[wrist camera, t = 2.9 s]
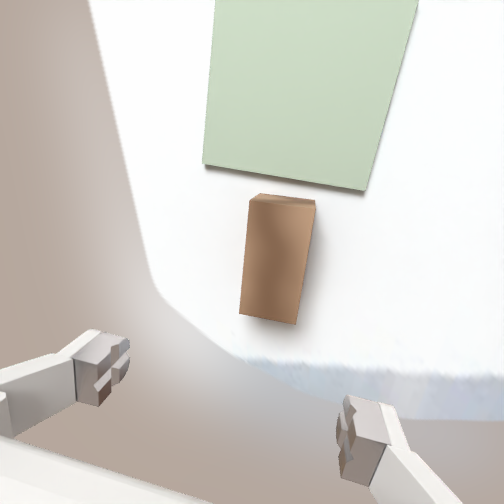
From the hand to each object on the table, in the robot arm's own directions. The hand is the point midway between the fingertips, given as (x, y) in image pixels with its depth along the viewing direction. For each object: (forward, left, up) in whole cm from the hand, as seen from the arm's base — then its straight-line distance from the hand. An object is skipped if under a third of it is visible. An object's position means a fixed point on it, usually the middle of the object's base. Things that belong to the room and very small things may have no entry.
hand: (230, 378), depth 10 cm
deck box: (0, 0, -16) cm, 16 cm away
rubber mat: (+1, -12, -15) cm, 20 cm away
